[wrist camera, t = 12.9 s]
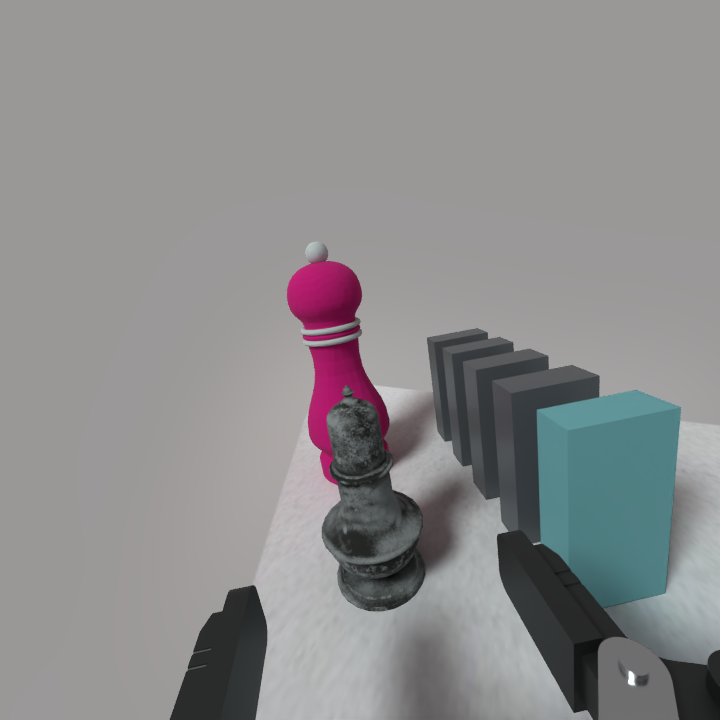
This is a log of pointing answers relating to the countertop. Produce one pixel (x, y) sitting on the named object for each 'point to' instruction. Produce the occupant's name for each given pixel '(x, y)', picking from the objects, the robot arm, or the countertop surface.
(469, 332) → the domino
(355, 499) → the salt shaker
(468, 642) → the countertop surface
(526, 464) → the domino
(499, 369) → the domino
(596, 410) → the domino
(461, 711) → the countertop surface
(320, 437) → the pepper mill
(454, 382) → the domino
